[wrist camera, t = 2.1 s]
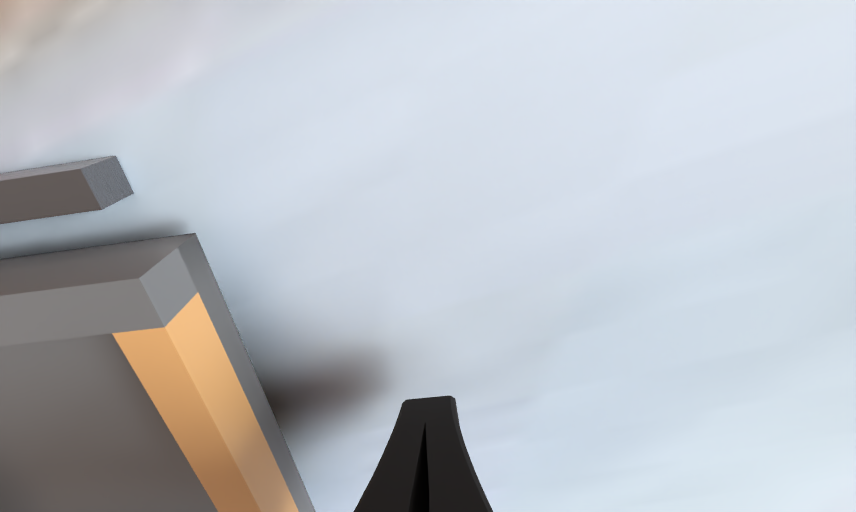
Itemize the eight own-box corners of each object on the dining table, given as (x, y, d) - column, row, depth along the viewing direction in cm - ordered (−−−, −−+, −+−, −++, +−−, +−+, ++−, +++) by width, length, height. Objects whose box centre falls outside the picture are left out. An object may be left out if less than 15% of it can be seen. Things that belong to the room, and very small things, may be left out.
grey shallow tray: (329, 498, 17) (306, 597, 14) (50, 519, 18) (-27, 615, 15) (216, 215, 11) (139, 278, 8) (-172, 269, 12) (-364, 342, 9)
